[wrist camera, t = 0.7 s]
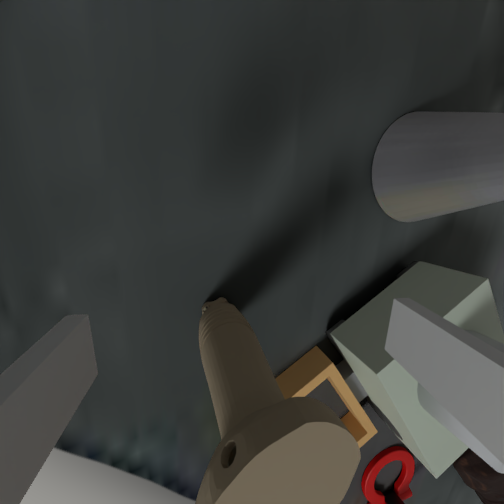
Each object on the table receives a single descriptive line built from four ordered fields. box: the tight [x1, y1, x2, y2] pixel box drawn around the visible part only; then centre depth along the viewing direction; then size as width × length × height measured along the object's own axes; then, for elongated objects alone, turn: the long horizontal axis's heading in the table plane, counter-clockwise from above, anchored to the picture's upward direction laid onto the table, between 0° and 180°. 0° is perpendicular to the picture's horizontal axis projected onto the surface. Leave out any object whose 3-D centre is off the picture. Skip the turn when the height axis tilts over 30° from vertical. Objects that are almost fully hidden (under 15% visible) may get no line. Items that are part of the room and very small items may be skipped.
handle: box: [195, 297, 361, 504], centre depth 16 cm, size 5×6×15 cm
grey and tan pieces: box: [275, 261, 504, 479], centre depth 23 cm, size 16×26×13 cm, turn 123°
